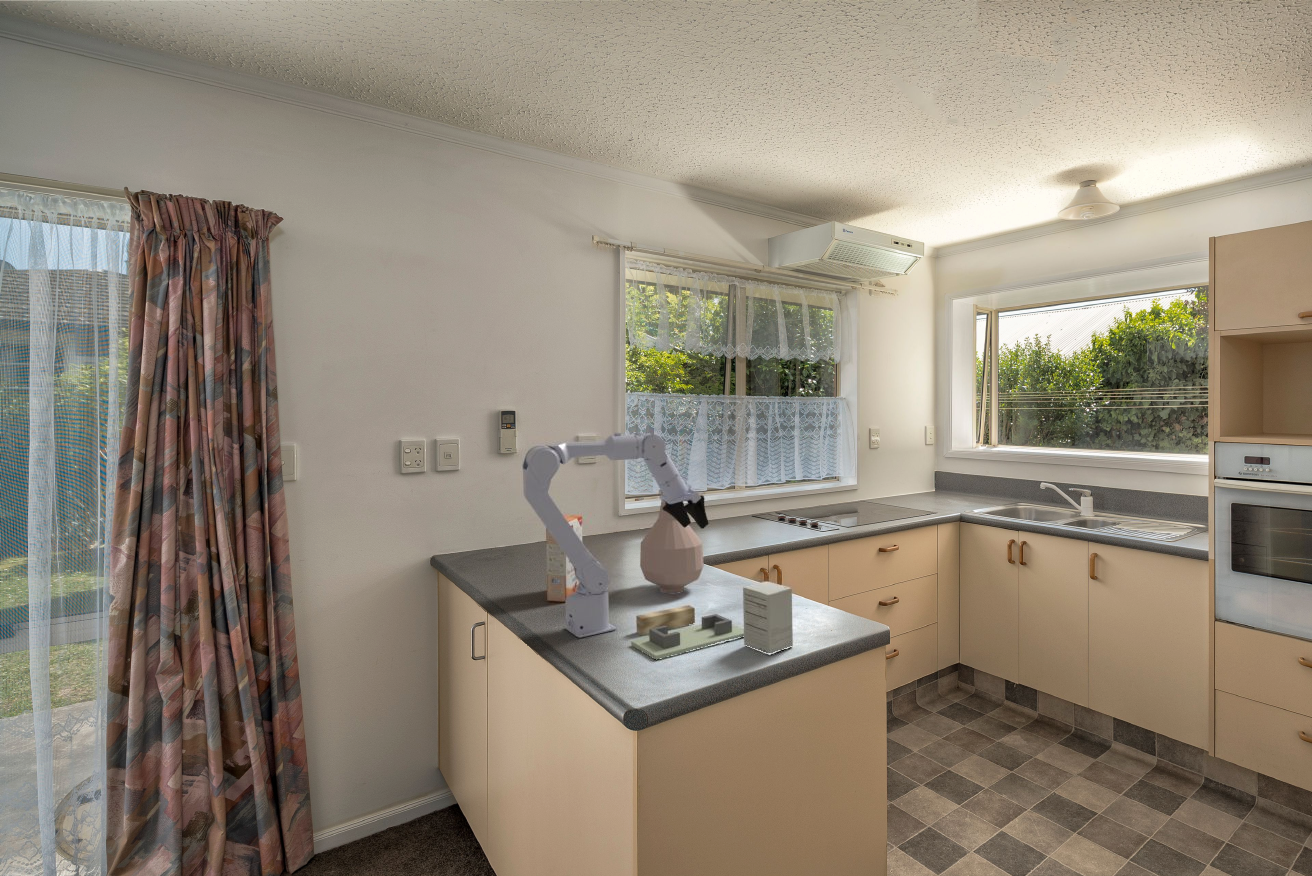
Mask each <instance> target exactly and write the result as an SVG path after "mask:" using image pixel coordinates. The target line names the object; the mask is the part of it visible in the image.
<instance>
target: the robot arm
mask: <svg viewBox="0 0 1312 876" xmlns="http://www.w3.org/2000/svg"><path fill="white" fill-rule="evenodd" d="M666 448H667V447H666V442H665V439H662V437H660V435H657V434H653V433H643V432H640V431H639V432H635V434H622V432H614V434H612V435H609V436H607V438H606V439H605V440H604V441H561V442H555V443H554V442H553V443H548V444H545V446H543V445H535V446H533V447H530V449H528V451H527V452H526V453H525V457H524V459H523V462H522V465H521V467H522V477H523V479H522V481H523V484H522V485H523V497H524V498H525V500H526V501H527V502H528V504H529V505H530V507H531V508H532V510H533V511H534V513H535V514H536V516H538V518H539V520H540V521H541V522H542V523H543V524H542V525H544V526H545V529H546V528H547V529H548V531H549V532H550V533H551V535H552V536H553V538H554V539H555V540H556V542H557V543H558V545H559V546H560V547H561V549H562V550H563V552H564V553H565V554H566V556H567V557H568V559H569V561H570V562H571V564H572V565H573V567H574V571H575V576H576V578H577V580H578V581H580V582H579V584H578V586H577V591H576V592H575V593H573V594H569V595H568V596H567V597H566V602H564V603H565V626H564V629H565V630H567V631H568V632H570V634H573V635H574V636H575V637H577V638H583V637H589V636H593V635H598V634H602V633H607V632H611V631H616V630H617V627H616V626H615V625H613V624H611V623H610V614H609V613H610V611H609V609H610V608H609V607H610V605H609V585H610V583H611V573H610V571H609V569H608V568H607V567H606V566H604V565H602V564H601V563H600V562H599V560H597V558H595V557H594V556H593V554H592V553H591V552H590V551H589V550H588V548H587V547H586V545H585V544H584V542H583V540H582V541H581V540H580V538H579V537H578V536H577V534H576V533H575V531H574V530H573V528H572V527H571V526H570V524H569V523H568V521H567V520H566V518H565V517H564V514H563V513H562V511H561V510H560V508H559V507H558V505H557V504H556V502H554V500H553V498H552V497H551V496H550V494H549V490H550V486H551V482H552V479H553V477H555V475H556V473H557V472H558V470H559V469H560V465H566V464H567V463H568V462H569V461H570V460H572V459H573V458H583V457H595V456H596V457H597V456H606V457H607V459H608V460H610V461H624V460H625V461H626V460H628V461H629V460H638V459H640V458H641V459H643V461H644V463H645V464H646V466H647V468H648V470H649V473H651V475H652V477H653V478H654V481H655V482H656V484H657V485H658V488H659V489H660V492H661V491H662V492H663V494H662V495H661V494H660V496H658V498H659V499H660V500H661V501H662V502H663V503H666V505H665V506H664V507H663V508H662V509H663V510H664V511H666V512H668V513H669V514H670V515H672V516H673V517H674V518H675V519H676V520H677V521H678V522H679V523H680V524H681V525H682V526H683V527H684V528H685V527H687V526H688V525H689V526H690V524H691V519H690V517H691V518H692V520H694V522H695V523H696V524H697V526H698V527H699V528H700V529H701V530H702V529H705V528H706V527H707V526H708V525H709V520H708V517H707V513H706V507H705V500H706V499H705V496H704V495H703V494H701V495H700V493H699V492H698V491H695V490H694V489H692V488H693V486H692V485H691V484H687V483H686V482H685V481H684V479H683V478H682V476H681V474H680V471H679V470H678V469H677V467H676V465H675V464H674V462H673V460H672V458H671V456H669V454H668V452H667V451H666ZM684 502H687V503H686V504H684ZM688 514H689V515H688ZM689 516H690V517H689Z"/></svg>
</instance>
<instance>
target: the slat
mask: <svg viewBox="0 0 1312 876" xmlns="http://www.w3.org/2000/svg"><path fill="white" fill-rule="evenodd" d="M695 611H696V610H695V607H693V606H691V605H684V606H679V607H678V606H677V607H674V608H668V609H663V610H658V611H653V612H649V613H643V614H639V615H636V617H635V618H636V623H635V624H636V633H637V632H638V633H639V635H640V634H641V635H640V636H642V635H643V636H646V635H645V634H647V635H649V629H652V628H656V627H660V626H667V627H668V629H670V628H675V629H677V628H676V627H679V628H682V627H681V626H684V627H686V626H685V625H688V626H690V625H689V624H693V623H695V624H696V620H695V618H696V617H695V613H696V612H695ZM693 625H694V624H693ZM670 630H671V629H670ZM638 633H637V634H638Z"/></svg>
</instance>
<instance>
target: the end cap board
mask: <svg viewBox="0 0 1312 876" xmlns="http://www.w3.org/2000/svg"><path fill="white" fill-rule="evenodd" d="M743 636H744V628H741V627H739V626H737V625H735V624H733V621H732V619H729V618H727V617H725V616H722V615H720V614H717V613H714V614H709V615H705V616H701V624H697V625H691V626H687V627H684V628H681V629H676V630H672V631H669V630H668V627H667V626H660V627H656V628H652V629H649V634H648V636H647V637H641V638H638V639H637V638H636V639H633V640H631V641H630V646H631V645H632V646H631V647H633V648H634V647H635V649H636V648H637V650H638V649H639V650H641V651H643V652H644V653H646V654H648V655H650V656H651V657H653V658H654V659H656V660H657V659H660V658H665V657H667V656H671V655H675V654H680V653H684V652H686V651H690V650H693V649H697V648H701V647H705V646H708V645H711V644H715V643H717V642H721V641H725V640H729V639H734V638H738V637H743ZM639 650H638V651H639ZM641 651H640V652H641ZM643 652H642V653H643ZM644 653H643V654H644ZM646 654H645V655H646ZM684 654H685V653H684ZM648 655H647V656H648ZM680 655H681V654H680ZM651 657H650V658H651ZM654 659H653V660H654ZM665 659H666V658H665ZM656 660H655V661H656ZM657 661H658V660H657Z"/></svg>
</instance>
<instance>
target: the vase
mask: <svg viewBox="0 0 1312 876" xmlns="http://www.w3.org/2000/svg"><path fill="white" fill-rule="evenodd" d="M660 492H661V494H660V496H661V495H662V494H663V492H662V491H661V490H660ZM665 505H666V503H663V502H662V500H661V501H660V508H659V511H658V518H657V519H656V521H655V522H654V523H653V525H652V526H651V528H650V529H649V531H648V532H647V534H646V535H645V536H644V537H643V538H642V540H641V541H640V556H639V557H640V558H639V559H640V561H639V562H640V564H639V567H640V569H641V572H642V574H643V577H644V580H646V581H648V582H649V583H651V584H654V586H655V585H656V586H658V587H659V588H660V592H661V593H663V592H664V593H665V594H671V593H674V594H679V592H680V593H683V592H684V591H685V587H687V586H688V585H690V584H691V583H694V582H696V581H698V580H699V579H700V576H701V573H702V571H703V568H704V566H705V565H704V549H703V548H704V547H703V542H702V540H701V539H700V538H699V536H698V535H697V534H696V532H695V531H694V530H693V528H692V527H691V526H690V524H689V525H688V526H687V527H685V528H684V527H683V526H682V525H681V524H680V523H679V522H678V521H677V520H676V519H675V518H674V517H673V516H672V515H670V514H669V513H668V512H666V511H664V510H663V509H662V508H663V507H664V506H665ZM682 591H683V592H682Z"/></svg>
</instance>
